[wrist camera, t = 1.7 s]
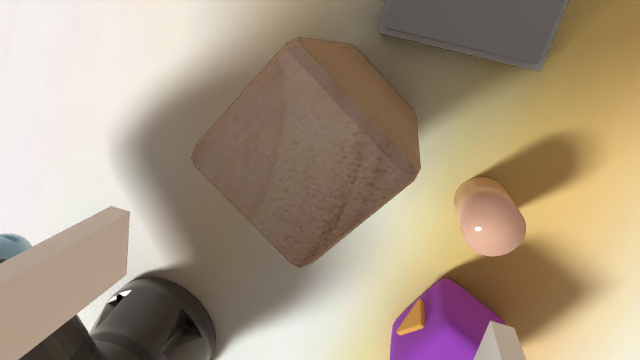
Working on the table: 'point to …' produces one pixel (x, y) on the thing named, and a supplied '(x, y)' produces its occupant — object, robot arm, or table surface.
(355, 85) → the wooden block
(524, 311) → the table surface
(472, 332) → the toy camera
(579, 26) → the table surface
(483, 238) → the peach rounded capsule part
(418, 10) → the stand
